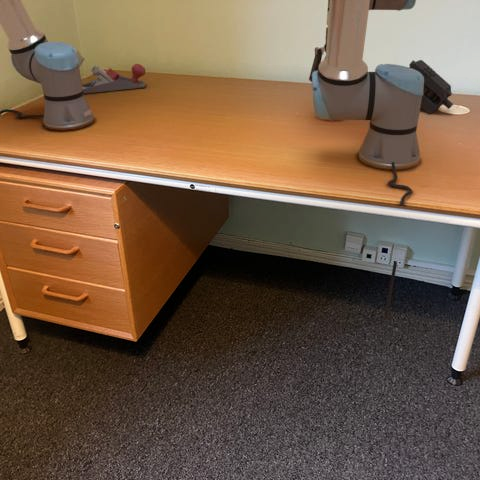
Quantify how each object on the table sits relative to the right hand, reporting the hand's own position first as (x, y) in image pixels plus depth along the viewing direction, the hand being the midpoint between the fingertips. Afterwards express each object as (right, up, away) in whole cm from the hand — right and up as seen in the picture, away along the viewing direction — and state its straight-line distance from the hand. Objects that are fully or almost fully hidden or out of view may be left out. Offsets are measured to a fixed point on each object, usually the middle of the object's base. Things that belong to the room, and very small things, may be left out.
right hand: (333, 102), depth 166 cm
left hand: (-69, +46, +8) cm, 83 cm away
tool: (+29, 0, +7) cm, 30 cm away
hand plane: (-79, +13, +32) cm, 87 cm away
